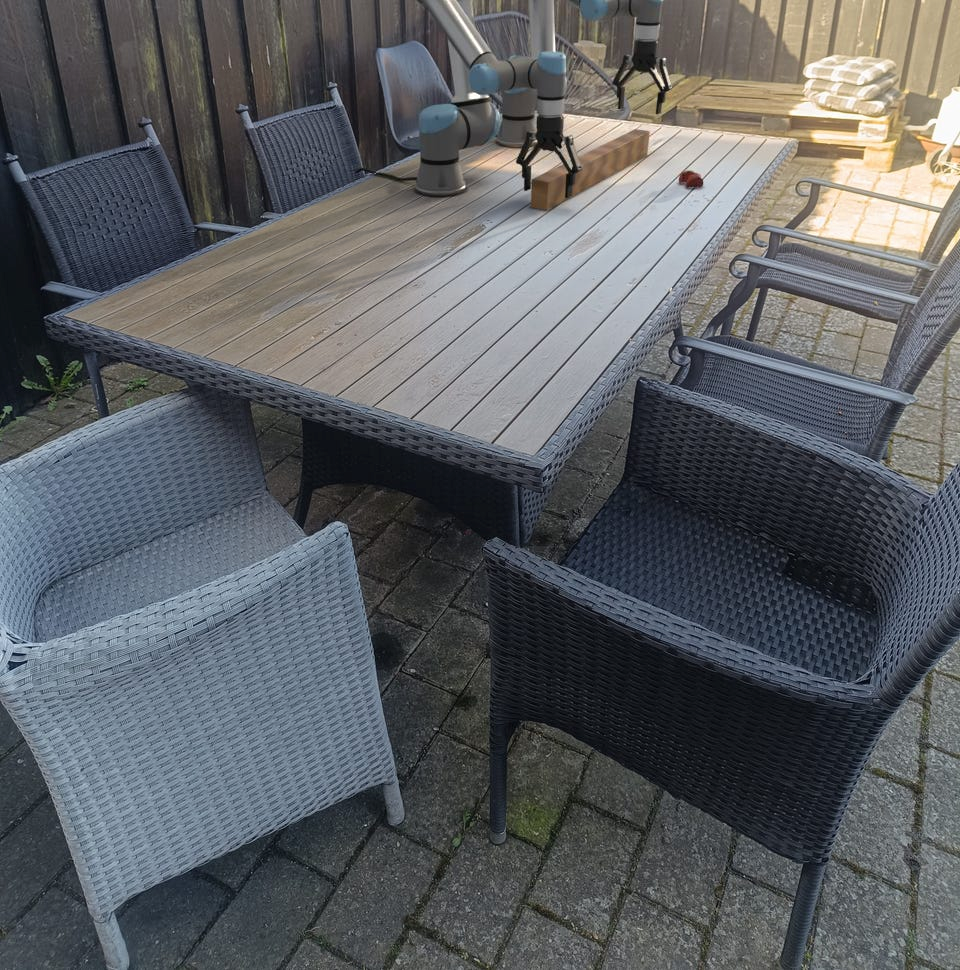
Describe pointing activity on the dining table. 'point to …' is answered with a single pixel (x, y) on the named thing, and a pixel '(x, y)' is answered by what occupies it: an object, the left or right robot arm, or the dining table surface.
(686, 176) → the dark red rounded lump
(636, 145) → the bar
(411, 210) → the dining table surface
